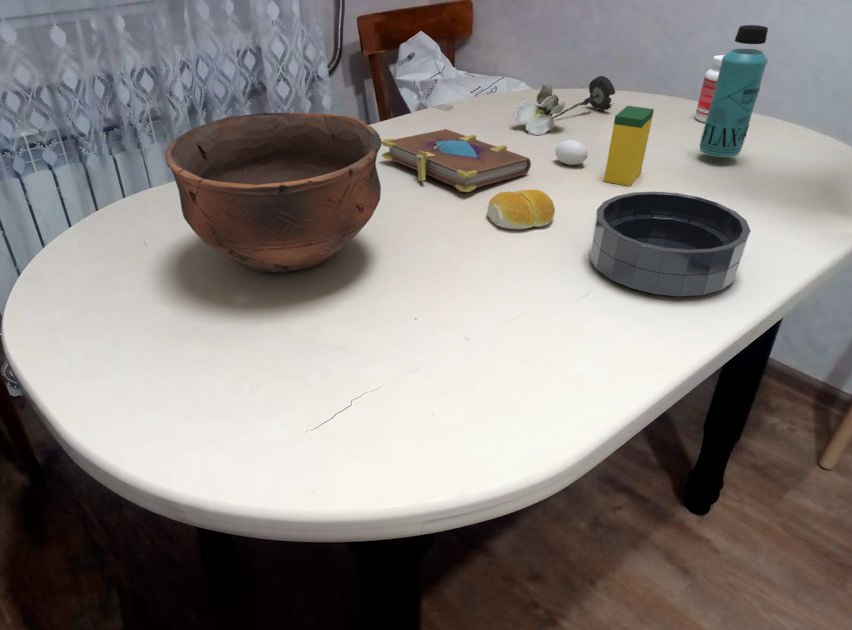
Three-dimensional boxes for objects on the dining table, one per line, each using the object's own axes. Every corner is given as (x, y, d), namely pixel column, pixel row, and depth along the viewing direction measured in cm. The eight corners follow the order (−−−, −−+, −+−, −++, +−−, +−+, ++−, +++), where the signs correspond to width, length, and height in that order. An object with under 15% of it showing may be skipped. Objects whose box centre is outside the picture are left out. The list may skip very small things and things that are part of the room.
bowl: (154, 303, 76) (120, 176, 67) (226, 213, 95) (207, 107, 87) (368, 314, 72) (361, 183, 64) (396, 220, 92) (394, 109, 83)
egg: (559, 156, 111) (562, 134, 109) (592, 164, 108) (595, 141, 105) (547, 163, 109) (550, 140, 106) (580, 171, 105) (584, 147, 103)
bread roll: (564, 225, 90) (568, 197, 87) (504, 235, 87) (506, 207, 85) (534, 202, 96) (537, 175, 94) (478, 211, 94) (480, 184, 91)
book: (432, 142, 121) (433, 114, 118) (532, 180, 105) (536, 149, 102) (359, 158, 113) (359, 128, 110) (456, 201, 97) (458, 168, 94)
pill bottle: (713, 126, 122) (729, 62, 115) (687, 118, 126) (701, 56, 120) (736, 121, 124) (754, 58, 117) (710, 113, 128) (726, 52, 122)
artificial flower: (619, 121, 130) (635, 73, 122) (529, 156, 123) (539, 108, 115) (589, 99, 134) (602, 51, 127) (500, 131, 127) (508, 83, 119)
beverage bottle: (688, 159, 108) (721, 26, 97) (707, 150, 112) (741, 20, 100) (727, 169, 104) (766, 31, 92) (746, 159, 108) (786, 25, 96)
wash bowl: (745, 253, 82) (760, 207, 78) (719, 315, 70) (735, 266, 67) (612, 225, 89) (620, 182, 86) (569, 277, 78) (577, 231, 74)
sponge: (640, 173, 104) (654, 108, 98) (629, 186, 100) (643, 119, 94) (615, 169, 106) (627, 105, 100) (603, 181, 102) (615, 115, 96)
